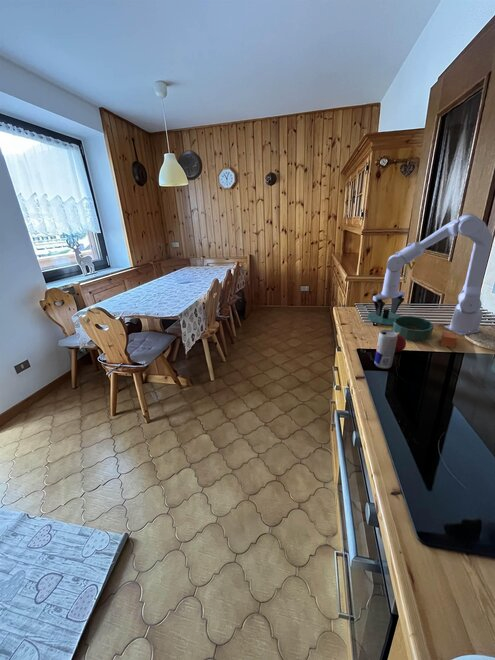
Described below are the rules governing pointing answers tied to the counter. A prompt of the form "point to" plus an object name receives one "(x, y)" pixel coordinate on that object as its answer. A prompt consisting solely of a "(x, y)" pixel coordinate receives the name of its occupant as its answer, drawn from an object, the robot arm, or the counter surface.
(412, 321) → the tin
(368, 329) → the counter surface
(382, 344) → the energy drink
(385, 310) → the tin lid
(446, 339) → the block
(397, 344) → the onion
